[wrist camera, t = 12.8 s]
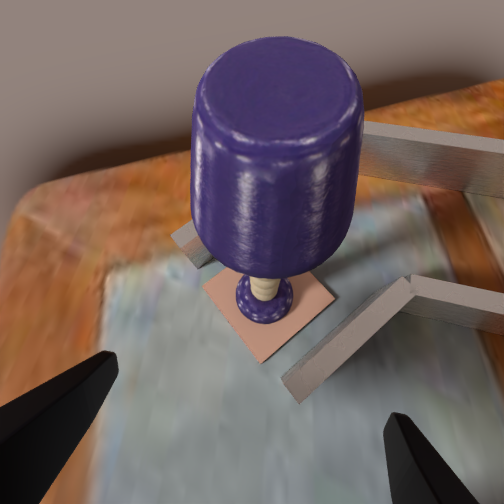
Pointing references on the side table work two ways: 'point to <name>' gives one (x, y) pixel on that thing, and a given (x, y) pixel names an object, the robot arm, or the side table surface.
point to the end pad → (275, 334)
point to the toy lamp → (275, 164)
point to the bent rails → (413, 286)
